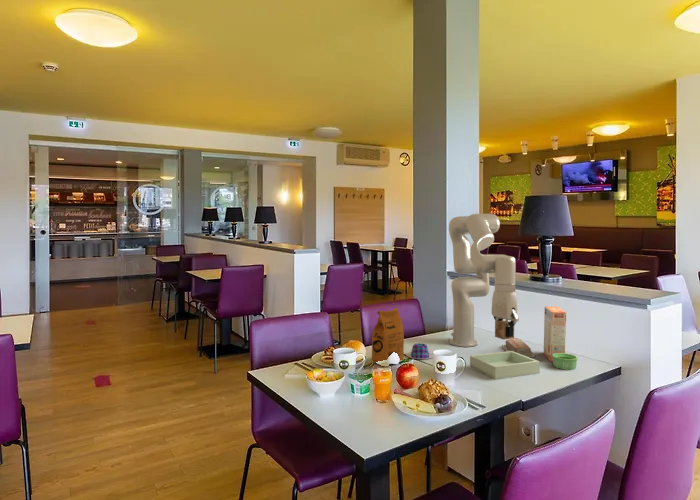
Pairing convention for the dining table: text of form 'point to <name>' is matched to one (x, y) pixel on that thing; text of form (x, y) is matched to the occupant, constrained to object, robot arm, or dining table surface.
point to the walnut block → (502, 330)
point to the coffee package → (388, 336)
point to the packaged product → (518, 347)
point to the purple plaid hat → (419, 352)
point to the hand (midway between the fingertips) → (504, 334)
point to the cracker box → (554, 331)
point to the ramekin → (564, 361)
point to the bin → (504, 364)
